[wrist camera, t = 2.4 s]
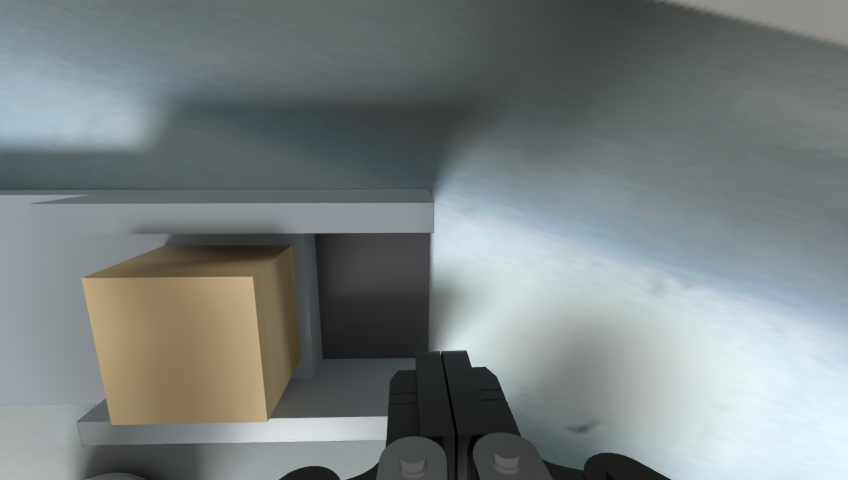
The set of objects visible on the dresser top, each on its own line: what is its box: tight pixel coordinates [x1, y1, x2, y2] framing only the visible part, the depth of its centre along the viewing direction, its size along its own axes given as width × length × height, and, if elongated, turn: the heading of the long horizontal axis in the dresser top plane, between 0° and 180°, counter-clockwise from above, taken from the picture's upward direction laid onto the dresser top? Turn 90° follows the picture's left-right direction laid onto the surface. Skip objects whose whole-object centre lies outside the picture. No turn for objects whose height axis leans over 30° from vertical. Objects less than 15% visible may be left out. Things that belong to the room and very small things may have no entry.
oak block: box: [82, 245, 301, 425], centre depth 14 cm, size 5×5×4 cm
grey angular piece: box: [0, 189, 434, 446], centre depth 16 cm, size 20×9×4 cm, turn 90°
